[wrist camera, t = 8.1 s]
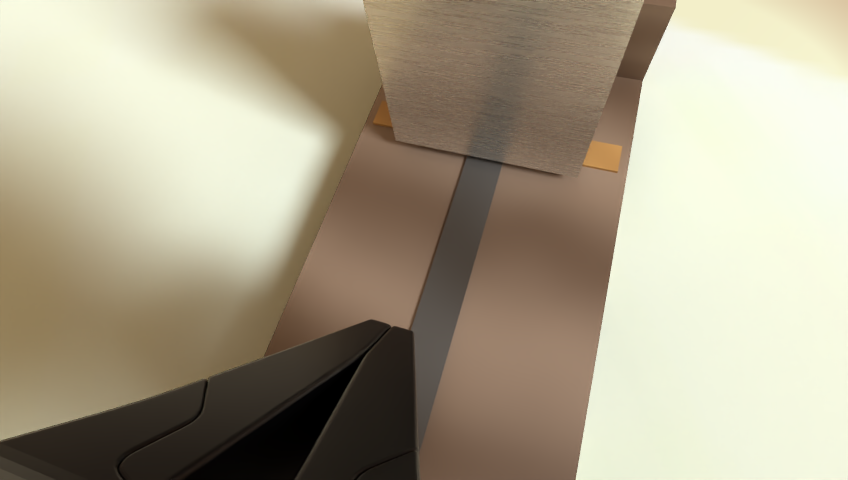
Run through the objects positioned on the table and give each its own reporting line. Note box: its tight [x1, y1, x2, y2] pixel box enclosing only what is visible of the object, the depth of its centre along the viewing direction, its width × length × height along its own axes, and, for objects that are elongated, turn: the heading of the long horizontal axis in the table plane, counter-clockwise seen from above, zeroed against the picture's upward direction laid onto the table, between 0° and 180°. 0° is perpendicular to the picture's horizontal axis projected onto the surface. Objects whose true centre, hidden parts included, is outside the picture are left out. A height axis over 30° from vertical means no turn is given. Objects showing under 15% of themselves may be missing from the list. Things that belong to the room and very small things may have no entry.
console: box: [264, 0, 676, 480], centre depth 15 cm, size 18×9×5 cm, turn 163°
